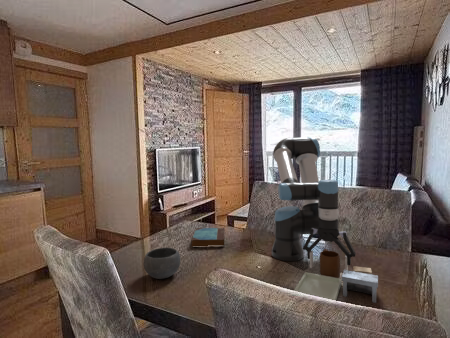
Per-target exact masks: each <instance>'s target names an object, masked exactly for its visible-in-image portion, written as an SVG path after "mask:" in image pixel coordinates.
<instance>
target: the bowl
mask: <svg viewBox="0 0 450 338" xmlns="http://www.w3.org/2000/svg"><path fill="white" fill-rule="evenodd" d="M180 265H181V255H180V252H179V251H178V250H177V249H175V248H173V247H158V248H155V249H151V250H149V251H148V252H147V253H145V255H144V259H143V268H144V272H146V274H147V275H148V276H150V277H151V278H154V279H157V280H158V279H159V280H164V279H167V278H170V277H171V276H173V275H174V274H176V272H177V271H178V270H179V268H180Z"/></svg>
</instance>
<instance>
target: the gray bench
mask: <svg viewBox="0 0 450 338" xmlns="http://www.w3.org/2000/svg"><path fill="white" fill-rule="evenodd" d="M341 279H342V297H348V290H349V291H353V292H359V293H363V294H369V295H372V296H371V298H372V299H371V302H372V303H374V304H377V290H378V287H379V275H375V274H372V275H371V274H365V273H359V272H354V271H353V270H349V269H348V270H345V269H343V272H342V275H341Z"/></svg>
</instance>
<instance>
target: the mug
mask: <svg viewBox="0 0 450 338" xmlns="http://www.w3.org/2000/svg"><path fill="white" fill-rule="evenodd" d="M319 275H324V276H329V277H334V278H340V276H341V255H340V253H338V252H337V251H334V250H329V249H327V248H324V249H323V250H322V251H320V253H319ZM340 279H341V278H340Z"/></svg>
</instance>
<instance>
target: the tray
mask: <svg viewBox="0 0 450 338" xmlns="http://www.w3.org/2000/svg"><path fill="white" fill-rule="evenodd" d="M342 285H343V281H342V278H334V277H329V276H324V275H320V274H318V273H311V272H306V271H305V272H304V273H303V275H302V276H301V278H300V280H299V282H298V283H297V285H296V286H295V288H294V290H295V291H298V292H302V293H306V294H310V295H315V296H319V297H323V298H328V299H332V300H338V297H339V293H340V290H341V287H342ZM294 290H293V291H294Z"/></svg>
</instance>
